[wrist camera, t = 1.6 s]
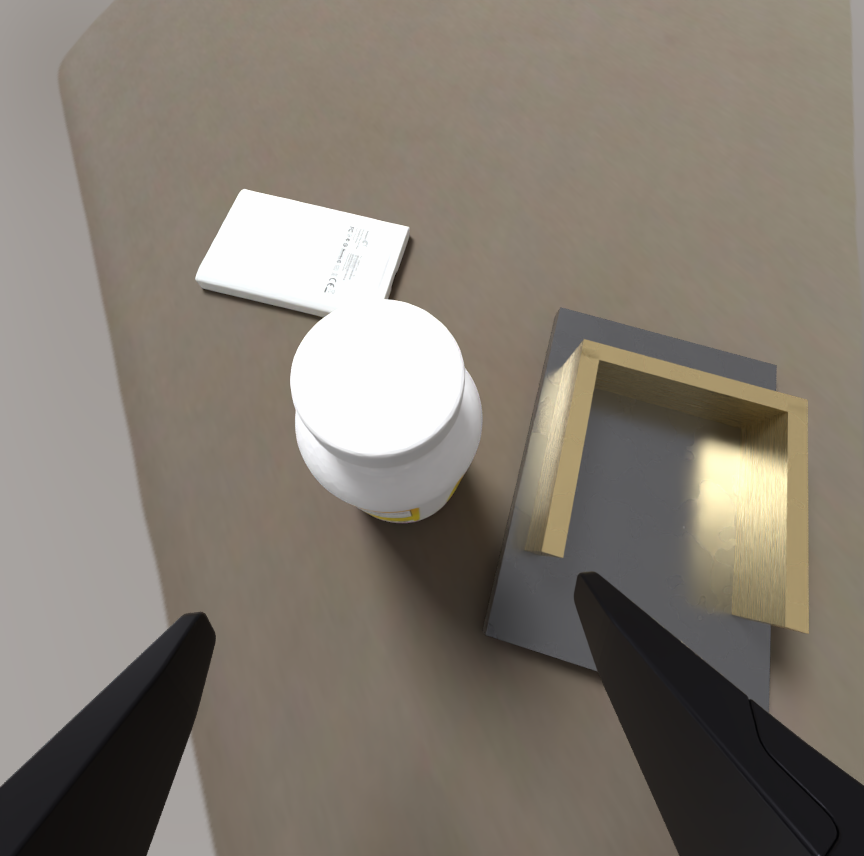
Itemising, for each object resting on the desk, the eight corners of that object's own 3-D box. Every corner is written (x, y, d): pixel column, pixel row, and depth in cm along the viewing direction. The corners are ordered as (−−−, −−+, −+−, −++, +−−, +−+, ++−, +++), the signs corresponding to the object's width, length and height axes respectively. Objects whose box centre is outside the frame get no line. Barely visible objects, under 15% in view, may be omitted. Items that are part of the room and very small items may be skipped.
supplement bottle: (426, 396, 24) (432, 235, 11) (479, 489, 22) (554, 420, 10) (327, 444, 22) (215, 324, 10) (376, 546, 21) (312, 550, 9)
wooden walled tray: (750, 717, 19) (834, 762, 15) (482, 630, 20) (497, 651, 16) (762, 372, 25) (825, 340, 21) (555, 316, 26) (578, 276, 22)
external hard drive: (252, 205, 28) (410, 241, 28) (206, 294, 26) (378, 335, 25) (242, 186, 27) (409, 223, 26) (193, 278, 24) (375, 321, 24)
